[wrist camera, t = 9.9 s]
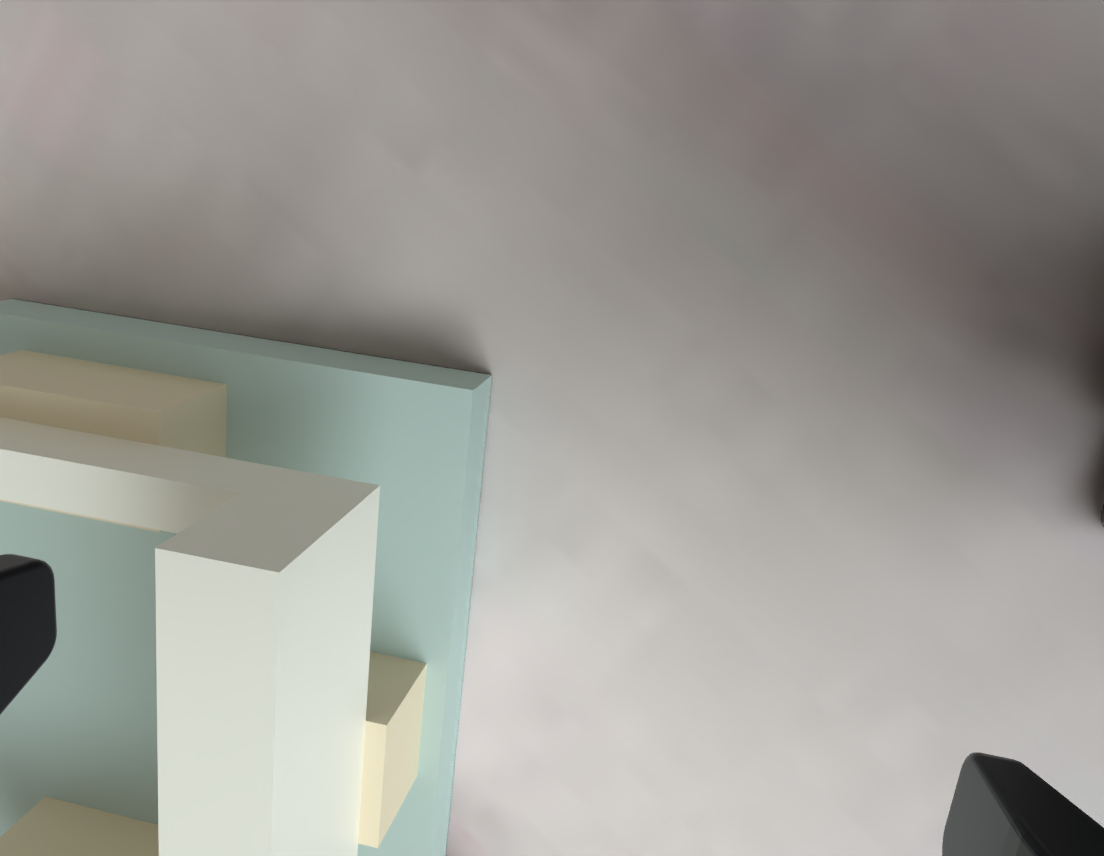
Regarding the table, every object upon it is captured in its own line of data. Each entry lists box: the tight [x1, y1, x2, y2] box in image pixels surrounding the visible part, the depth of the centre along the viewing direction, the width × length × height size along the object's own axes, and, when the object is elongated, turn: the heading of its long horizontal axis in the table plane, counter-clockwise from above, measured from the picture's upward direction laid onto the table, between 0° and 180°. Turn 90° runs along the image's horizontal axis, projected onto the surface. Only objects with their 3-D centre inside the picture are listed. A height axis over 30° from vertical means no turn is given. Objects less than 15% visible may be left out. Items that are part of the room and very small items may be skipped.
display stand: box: [0, 299, 492, 856], centre depth 22 cm, size 12×16×4 cm
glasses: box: [0, 417, 380, 856], centre depth 18 cm, size 10×13×4 cm
